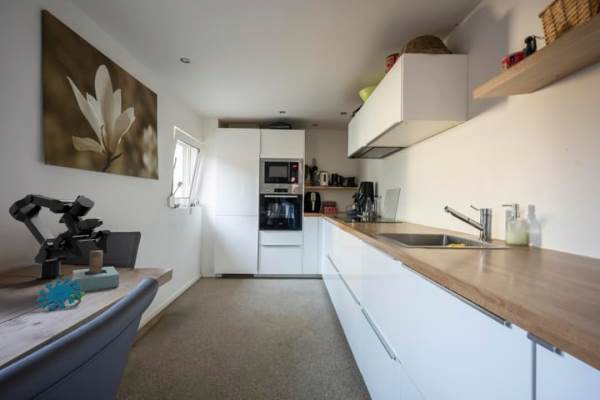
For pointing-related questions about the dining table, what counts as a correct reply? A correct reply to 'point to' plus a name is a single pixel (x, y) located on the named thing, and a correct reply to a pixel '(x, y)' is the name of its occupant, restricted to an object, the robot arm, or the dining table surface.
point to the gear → (60, 294)
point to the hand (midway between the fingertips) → (94, 254)
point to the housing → (96, 279)
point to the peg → (95, 262)
